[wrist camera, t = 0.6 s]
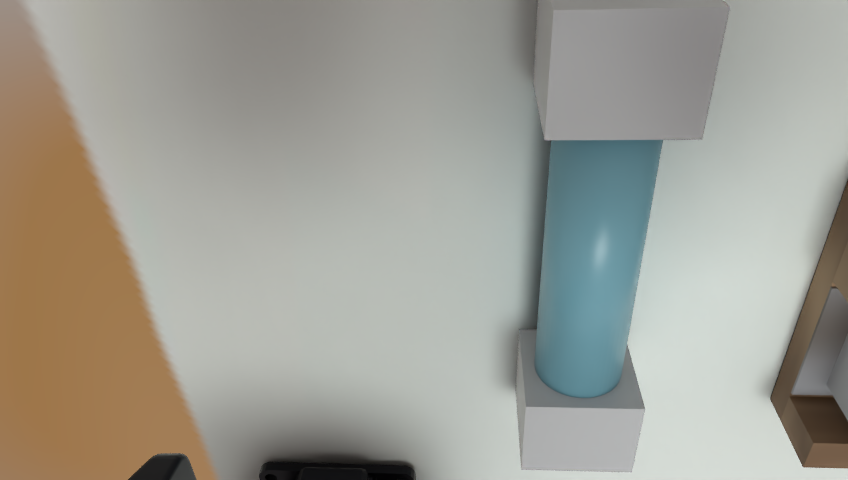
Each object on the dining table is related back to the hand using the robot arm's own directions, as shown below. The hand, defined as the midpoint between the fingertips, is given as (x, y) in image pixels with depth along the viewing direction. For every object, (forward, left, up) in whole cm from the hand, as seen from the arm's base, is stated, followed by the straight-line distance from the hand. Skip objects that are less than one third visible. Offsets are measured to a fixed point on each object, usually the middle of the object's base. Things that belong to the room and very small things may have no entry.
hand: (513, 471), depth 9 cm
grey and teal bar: (-4, -3, -12) cm, 13 cm away
